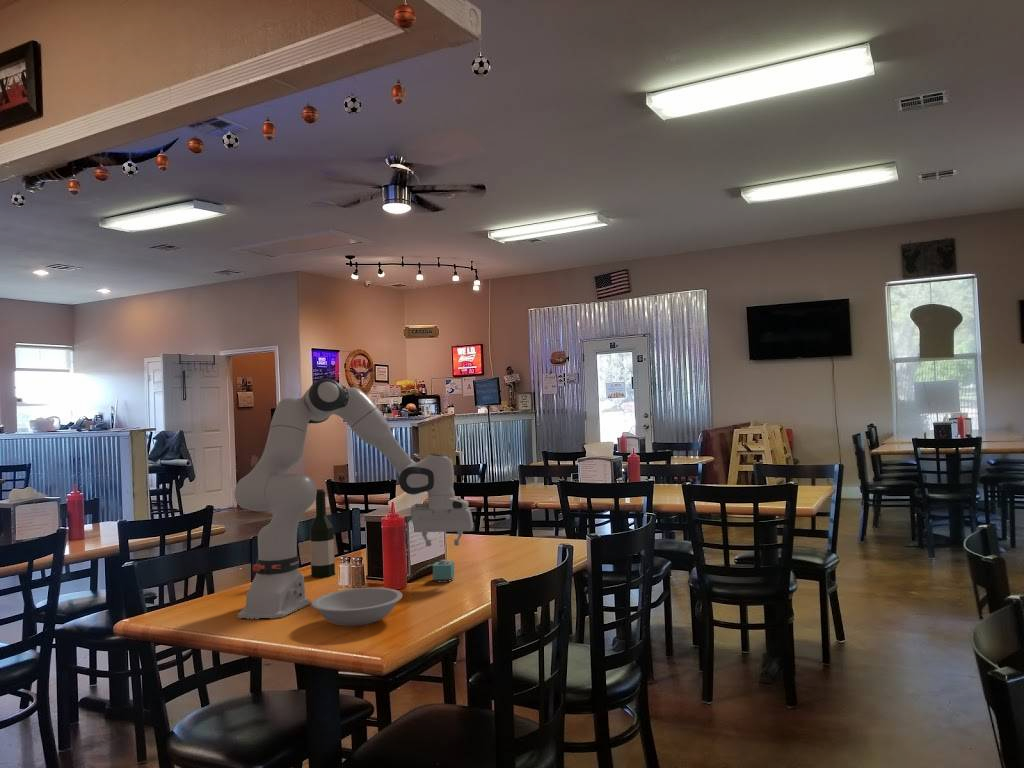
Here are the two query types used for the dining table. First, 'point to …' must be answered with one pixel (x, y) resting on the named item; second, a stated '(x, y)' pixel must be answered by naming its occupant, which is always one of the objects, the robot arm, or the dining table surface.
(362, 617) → the soup bowl
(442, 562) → the post stand
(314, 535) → the wine bottle
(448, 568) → the teal block
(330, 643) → the dining table surface
